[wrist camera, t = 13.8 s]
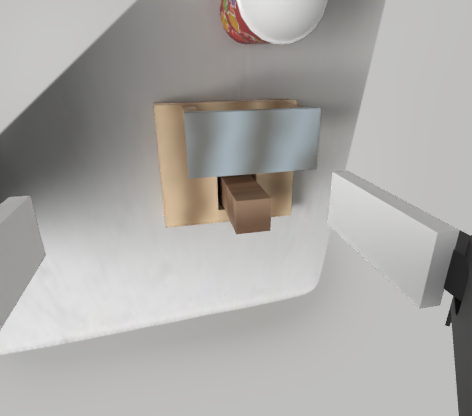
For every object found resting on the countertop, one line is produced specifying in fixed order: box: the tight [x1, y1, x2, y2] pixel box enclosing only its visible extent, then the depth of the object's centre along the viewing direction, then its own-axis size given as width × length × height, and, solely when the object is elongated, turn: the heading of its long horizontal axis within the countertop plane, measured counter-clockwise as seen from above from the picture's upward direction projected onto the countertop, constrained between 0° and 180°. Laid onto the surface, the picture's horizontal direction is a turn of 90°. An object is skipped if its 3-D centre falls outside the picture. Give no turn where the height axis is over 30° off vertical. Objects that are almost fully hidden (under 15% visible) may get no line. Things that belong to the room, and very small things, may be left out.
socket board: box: [153, 99, 321, 228], centre depth 42 cm, size 18×16×12 cm
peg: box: [219, 174, 271, 234], centre depth 43 cm, size 4×4×12 cm
